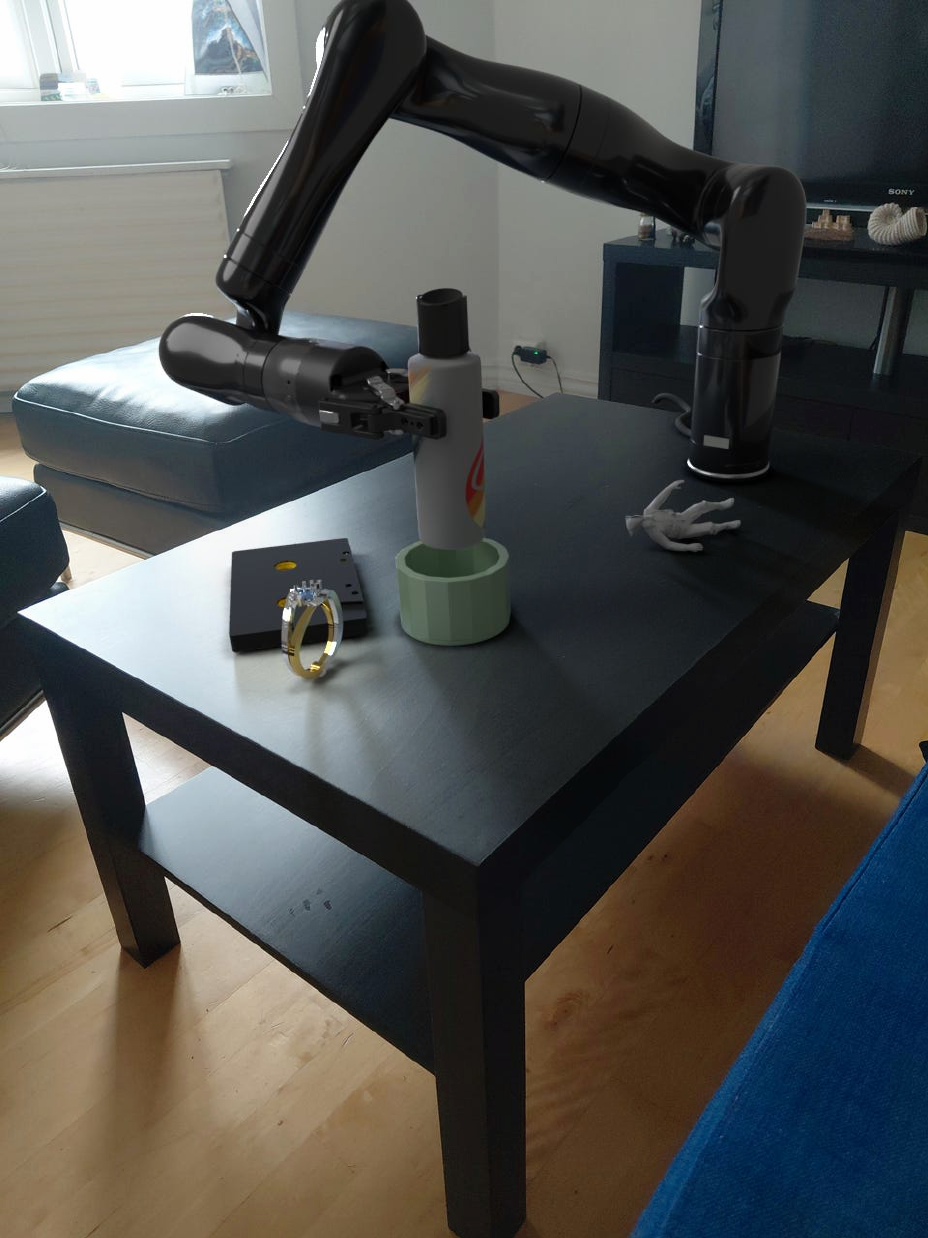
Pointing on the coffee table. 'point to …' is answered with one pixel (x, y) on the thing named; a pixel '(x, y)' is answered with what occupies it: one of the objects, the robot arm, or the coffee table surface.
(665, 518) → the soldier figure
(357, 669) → the coffee table surface
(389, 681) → the coffee table surface
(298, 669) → the ring
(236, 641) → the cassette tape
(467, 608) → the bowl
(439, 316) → the lotion bottle
